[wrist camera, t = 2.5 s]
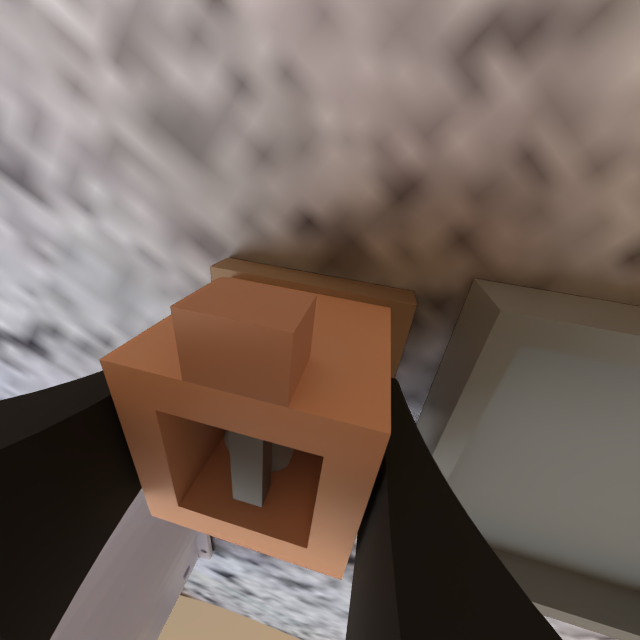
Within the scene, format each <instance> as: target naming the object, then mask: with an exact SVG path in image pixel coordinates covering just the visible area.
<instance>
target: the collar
mask: <svg viewBox="0 0 640 640" xmlns="http://www.w3.org/2000/svg"><path fill="white" fill-rule="evenodd" d="M170 308H171V315H169V316H168V317H166V318H165V319H163V320H161V321H160V322H158V323H157V324H155V325H154V326H152V327H150V328H149V329H147V330H146V331H144V332H142V333H141V334H139V335H138V336H136V337H134V338H133V339H131V340H130V341H128V342H126V343H125V344H123V345H122V346H120V347H118V348H117V349H115V350H114V351H112V352H111V353H109V354H107V355H106V356H104V357H103V358H101V359H99V360H100V363H101V366H102V369H103V372H104V375H105V378H106V381H107V384H108V387H109V390H110V393H111V396H112V399H113V402H114V405H115V408H116V411H117V414H118V417H119V420H120V423H121V426H122V429H123V432H124V435H125V438H126V441H127V444H128V447H129V450H130V453H131V456H132V459H133V462H134V465H135V468H136V471H137V474H138V477H139V480H140V483H141V486H142V489H143V492H144V495H145V498H146V501H147V504H148V507H149V510H150V513H151V516H154V517H157V518H160V519H163V520H166V521H169V522H172V523H175V524H178V525H181V526H184V527H187V528H190V529H192V530H195V531H198V532H201V533H204V534H207V535H210V536H213V537H216V538H219V539H222V540H225V541H228V542H231V543H234V544H237V545H240V546H243V547H246V548H249V549H252V550H255V551H257V552H260V553H263V554H266V555H269V556H272V557H275V558H278V559H281V560H284V561H287V562H290V563H293V564H296V565H299V566H302V567H305V568H308V569H311V570H314V571H317V572H320V573H322V574H325V575H328V576H331V577H334V578H337V579H340V580H342V577H343V574H344V571H345V568H346V565H347V562H348V559H349V556H350V553H351V550H352V547H353V544H354V541H355V538H356V535H357V532H358V530H359V527H360V524H361V521H362V518H363V515H364V512H365V509H366V506H367V503H368V500H369V497H370V494H371V491H372V488H373V485H374V482H375V479H376V477H377V474H378V471H379V468H380V465H381V462H382V459H383V456H384V453H385V450H386V447H387V444H388V441H389V438H390V435H391V308H389V307H384V306H379V305H373V304H368V303H363V302H358V301H353V300H347V299H342V298H337V297H332V296H326V295H321V294H316V293H311V292H306V291H300V290H295V289H290V288H285V287H279V286H274V285H269V284H264V283H259V282H253V281H248V280H243V279H238V278H233V277H230V278H227V277H222V276H221V277H219V278H218V279H216V280H214V281H212V282H211V283H209V284H207V285H206V286H204V287H202V288H201V289H199V290H197V291H195V292H194V293H192V294H190V295H189V296H187V297H185V298H184V299H182V300H180V301H178V302H177V303H175V304H173V305H172V306H170ZM226 430H228V431H232V432H236V433H239V434H243V435H247V436H250V437H254V438H257V439H261V440H265V441H268V442H272V443H275V444H279V445H283V446H286V447H290V448H293V449H294V451H293V454H292V457H291V460H290V462H289V464H288V466H286V467H285V468H284V469H282V470H279V471H275V472H271V485H270V488H269V490H268V493H267V496H266V498H265V501H264V503H263V506H262V507H259V506H255V505H252V504H249V503H246V502H243V501H239V500H236V499H233V491H232V476H231V462H230V451H229V450H228V448H227V446H226V444H225V440H224V435H225V432H226Z"/></svg>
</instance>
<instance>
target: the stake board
mask: <svg viewBox="0 0 640 640" xmlns="http://www.w3.org/2000/svg"><path fill="white" fill-rule="evenodd" d="M210 270H211V282H212V281H214V280H216V279H218V278H219V277H221V276H222V277H227V278H230V277H233V278H238V279H243V280H248V281H253V282H259V283H264V284H269V285H274V286H279V287H285V288H290V289H295V290H300V291H306V292H311V293H316V294H321V295H326V296H332V297H337V298H342V299H347V300H353V301H358V302H363V303H368V304H373V305H379V306H384V307H389V308H391V378H395V376H396V372H397V369H398V366H399V362H400V359H401V356H402V353H403V349H404V346H405V343H406V340H407V336H408V333H409V330H410V327H411V323H412V320H413V317H414V313H415V310H416V307H417V303H416V298H415V293H414V291H409V290H404V289H398V288H393V287H387V286H381V285H376V284H370V283H365V282H359V281H354V280H348V279H343V278H337V277H332V276H326V275H321V274H315V273H310V272H304V271H299V270H293V269H288V268H282V267H277V266H271V265H266V264H260V263H255V262H249V261H244V260H238V259H232V258H226V259H224V260H222V261H220V262H218V263H216V264H214V265H212V266H210ZM224 440H225V444H226V446H227V448H228V450H229V451H230V462H231V476H232V491H233V499H236V500H239V501H243V502H246V503H249V504H252V505H255V506H259V507H262V506H263V503H264V501H265V498H266V496H267V493H268V490H269V488H270V485H271V472H275V471H279V470H282V469H284V468H285V467H286V466H288V464H289V462H290V460H291V457H292V454H293V451H294V449H293V448H290V447H286V446H283V445H279V444H275V443H272V442H268V441H265V440H261V439H257V438H254V437H250V436H247V435H243V434H239V433H236V432H232V431H228V430H226V432H225V435H224Z"/></svg>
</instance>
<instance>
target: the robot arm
mask: <svg viewBox="0 0 640 640" xmlns="http://www.w3.org/2000/svg"><path fill="white" fill-rule="evenodd" d="M212 555H213V552H212V546H211V540H210V535H207V534H204V533H201V532H198V531H195V530H192V529H190V528H187V527H184V526H181V525H178V524H175V523H172V522H169V521H166V520H163V519H160V518H157V517H154V516H151V513H150V510H149V507H148V504H147V501H146V498H145V495H144V492H143V489H142V486H141V483H140V480H139V477H138V474H137V471H136V468H135V465H134V462H133V459H132V456H131V453H130V450H129V447H128V444H127V441H126V438H125V435H124V432H123V429H122V426H121V423H120V420H119V417H118V414H117V411H116V408H115V405H114V402H113V399H112V396H111V393H110V390H109V387H108V384H107V381H106V378H105V375H104V372H103V371H100V372H98V373H95V374H92V375H89V376H86V377H83V378H80V379H77V380H74V381H70V382H67V383H64V384H60V385H57V386H54V387H50V388H47V389H44V390H40V391H36V392H33V393H29V394H25V395H21V396H17V397H13V398H8V399H4V400H0V640H157V639H158V637H159V635H160V633H161V631H162V629H163V627H164V625H165V623H166V621H167V619H168V617H169V615H170V613H171V611H172V609H173V607H174V605H175V603H176V601H177V599H178V597H179V595H180V593H181V591H182V589H183V587H184V585H185V583H186V581H187V579H188V577H189V575H190V573H191V572H192V570H193V568H194V566H195V564H196V562H197V560H198V558H202V559H205V560H210V559H211V557H212ZM346 640H562V639H561V637H560V636H559V635H558V634H557V632H556V631H555V630H554V629H553V627H552V626H551V625H550V624H549V622H548V621H547V620H546V619H545V618H544V616H543V615H542V614H541V613H540V611H539V610H538V609H537V608H536V606H535V605H534V604H533V603H532V601H531V600H530V599H529V597H528V596H527V595H526V593H525V592H524V591H523V589H522V588H521V587H520V585H519V584H518V583H517V581H516V580H515V579H514V577H513V576H512V575H511V573H510V572H509V571H508V569H507V568H506V567H505V565H504V564H503V563H502V561H501V560H500V559H499V557H498V556H497V555H496V553H495V552H494V551H493V549H492V548H491V547H490V545H489V544H488V543H487V541H486V540H485V538H484V537H483V536H482V534H481V533H480V531H479V530H478V528H477V527H476V525H475V524H474V522H473V521H472V520H471V518H470V517H469V515H468V514H467V512H466V511H465V509H464V508H463V506H462V504H461V503H460V501H459V500H458V498H457V497H456V495H455V494H454V492H453V490H452V489H451V487H450V486H449V484H448V482H447V481H446V479H445V477H444V476H443V474H442V472H441V471H440V469H439V467H438V465H437V463H436V462H435V460H434V458H433V456H432V455H431V453H430V451H429V449H428V447H427V445H426V443H425V441H424V439H423V437H422V435H421V433H420V431H419V429H418V427H417V425H416V423H415V421H414V419H413V417H412V415H411V412H410V410H409V408H408V405H407V403H406V401H405V398H404V396H403V393H402V391H401V388H400V385H399V382H398V381H397V379H395V378H391V435H390V438H389V441H388V444H387V447H386V450H385V453H384V456H383V459H382V462H381V465H380V468H379V471H378V474H377V477H376V479H375V482H374V485H373V488H372V491H371V494H370V497H369V500H368V503H367V506H366V509H365V512H364V515H363V518H362V521H361V524H360V527H359V530H358V533H357V547H356V556H355V565H354V573H353V582H352V591H351V599H350V608H349V616H348V625H347V633H346Z"/></svg>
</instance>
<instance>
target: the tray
mask: <svg viewBox="0 0 640 640" xmlns="http://www.w3.org/2000/svg"><path fill="white" fill-rule="evenodd" d="M416 425H417V427H418V429H419V431H420V433H421V435H422V437H423V439H424V441H425V443H426V445H427V447H428V449H429V451H430V453H431V455H432V456H433V458H434V460H435V462H436V463H437V465H438V467H439V469H440V471H441V472H442V474H443V476H444V477H445V479H446V481H447V482H448V484H449V486H450V487H451V489H452V490H453V492H454V494H455V495H456V497H457V498H458V500H459V501H460V503H461V504H462V506H463V508H464V509H465V511H466V512H467V514H468V515H469V517H470V518H471V520H472V521H473V522H474V524H475V525H476V527H477V528H478V530H479V531H480V533H481V534H482V536H483V537H484V538H485V540H486V541H487V543H488V544H489V545H490V547H491V548H492V549H493V551H494V552H495V553H496V555H497V556H498V557H499V559H500V560H501V561H502V563H503V564H504V565H505V567H506V568H507V569H508V571H509V572H510V573H511V575H512V576H513V577H514V579H515V580H516V581H517V583H518V584H519V585H520V587H521V588H522V589H523V591H524V592H525V593H526V595H527V596H528V597H529V599H530V600H531V601H532V603H533V604H534V605H535V606H536V608H537V609H538V610H539V611H540V613H541V614H542V615H544V616H547V617H551V618H554V619H557V620H560V621H563V622H566V623H569V624H572V625H575V626H578V627H582V628H585V629H588V630H591V631H594V632H597V633H600V634H603V635H606V636H609V637H613V638H616V639H619V640H640V306H634V305H628V304H623V303H617V302H611V301H605V300H599V299H593V298H587V297H581V296H575V295H569V294H564V293H558V292H552V291H546V290H540V289H534V288H528V287H522V286H516V285H510V284H505V283H499V282H493V281H487V280H481V279H475V278H474V280H473V283H472V285H471V288H470V290H469V293H468V295H467V298H466V300H465V303H464V305H463V308H462V310H461V313H460V316H459V318H458V321H457V323H456V326H455V328H454V331H453V333H452V336H451V338H450V341H449V343H448V346H447V348H446V351H445V354H444V356H443V359H442V361H441V364H440V366H439V369H438V371H437V374H436V376H435V379H434V381H433V384H432V386H431V389H430V392H429V394H428V397H427V399H426V402H425V404H424V407H423V409H422V412H421V414H420V417H419V419H418V422H417V424H416Z"/></svg>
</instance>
